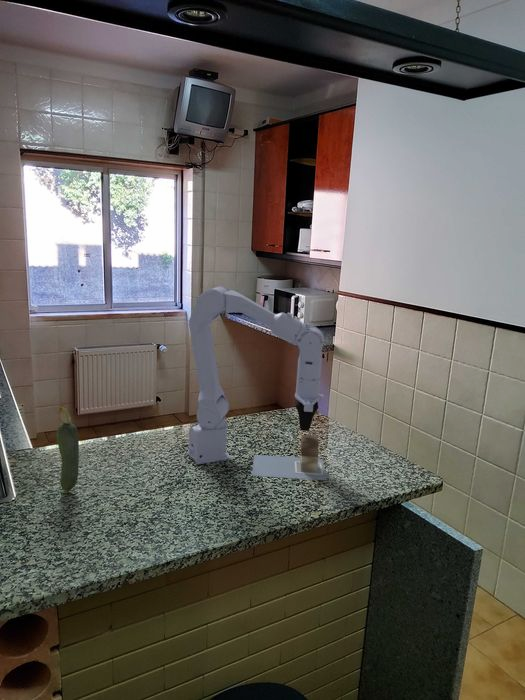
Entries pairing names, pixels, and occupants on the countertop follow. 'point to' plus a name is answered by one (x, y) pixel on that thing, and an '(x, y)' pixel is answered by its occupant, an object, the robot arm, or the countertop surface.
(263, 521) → the countertop surface
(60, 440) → the vegetable
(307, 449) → the walnut block
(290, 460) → the board
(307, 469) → the maple block
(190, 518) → the countertop surface
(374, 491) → the countertop surface
